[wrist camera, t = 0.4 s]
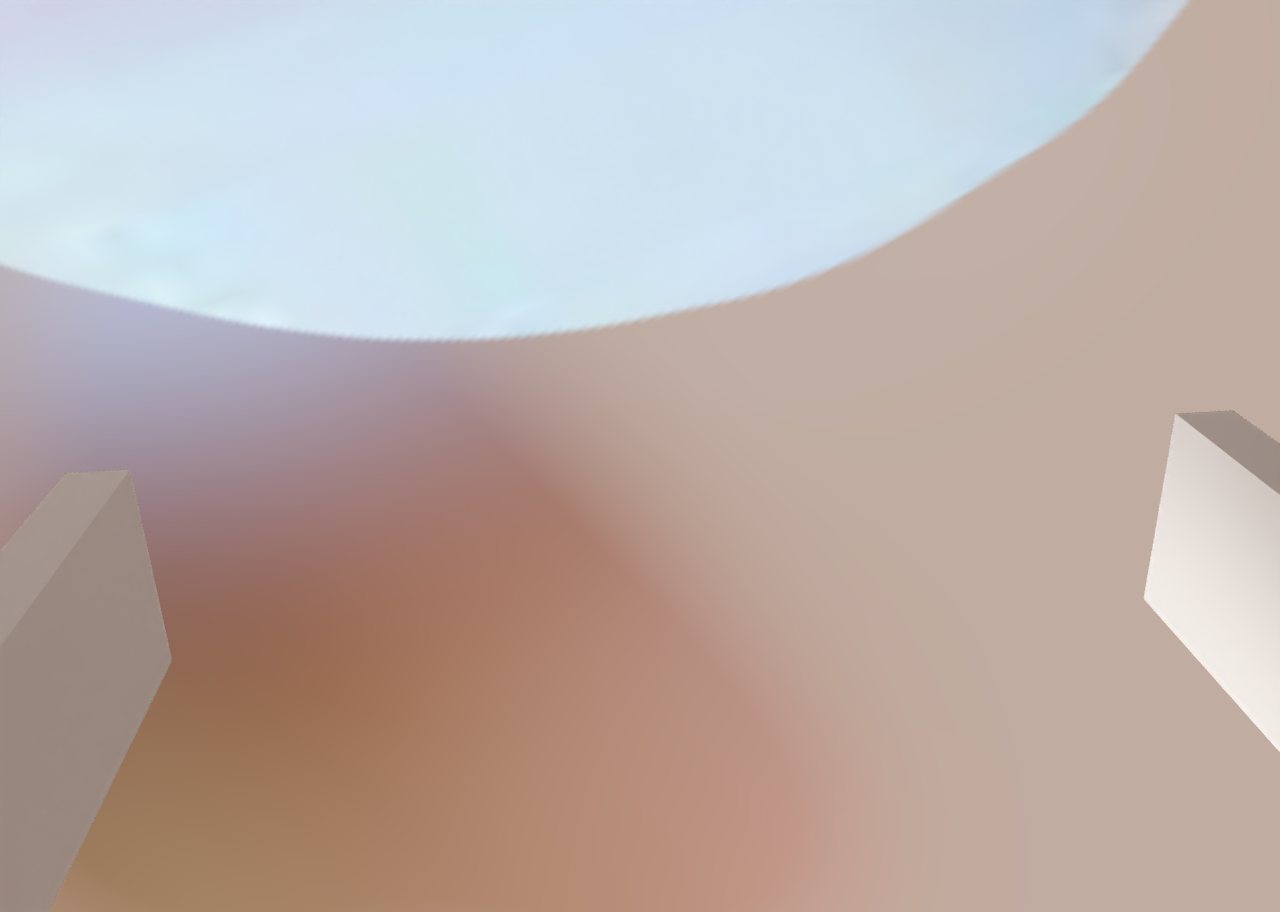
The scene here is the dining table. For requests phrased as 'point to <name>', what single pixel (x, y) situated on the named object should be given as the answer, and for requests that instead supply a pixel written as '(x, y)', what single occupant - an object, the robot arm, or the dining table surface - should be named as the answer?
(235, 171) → the dining table surface
